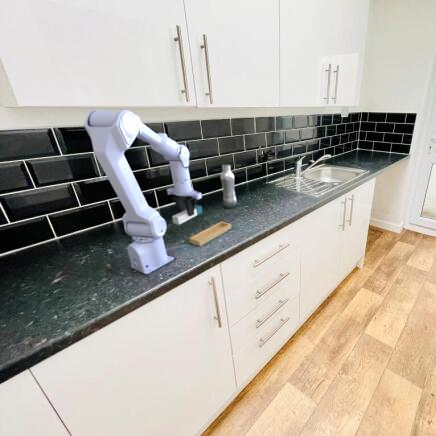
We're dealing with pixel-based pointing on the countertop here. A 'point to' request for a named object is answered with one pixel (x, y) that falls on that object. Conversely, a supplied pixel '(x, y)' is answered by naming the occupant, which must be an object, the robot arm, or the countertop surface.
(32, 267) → the countertop surface
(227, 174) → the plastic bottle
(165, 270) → the countertop surface
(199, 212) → the marker
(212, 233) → the pen tray
